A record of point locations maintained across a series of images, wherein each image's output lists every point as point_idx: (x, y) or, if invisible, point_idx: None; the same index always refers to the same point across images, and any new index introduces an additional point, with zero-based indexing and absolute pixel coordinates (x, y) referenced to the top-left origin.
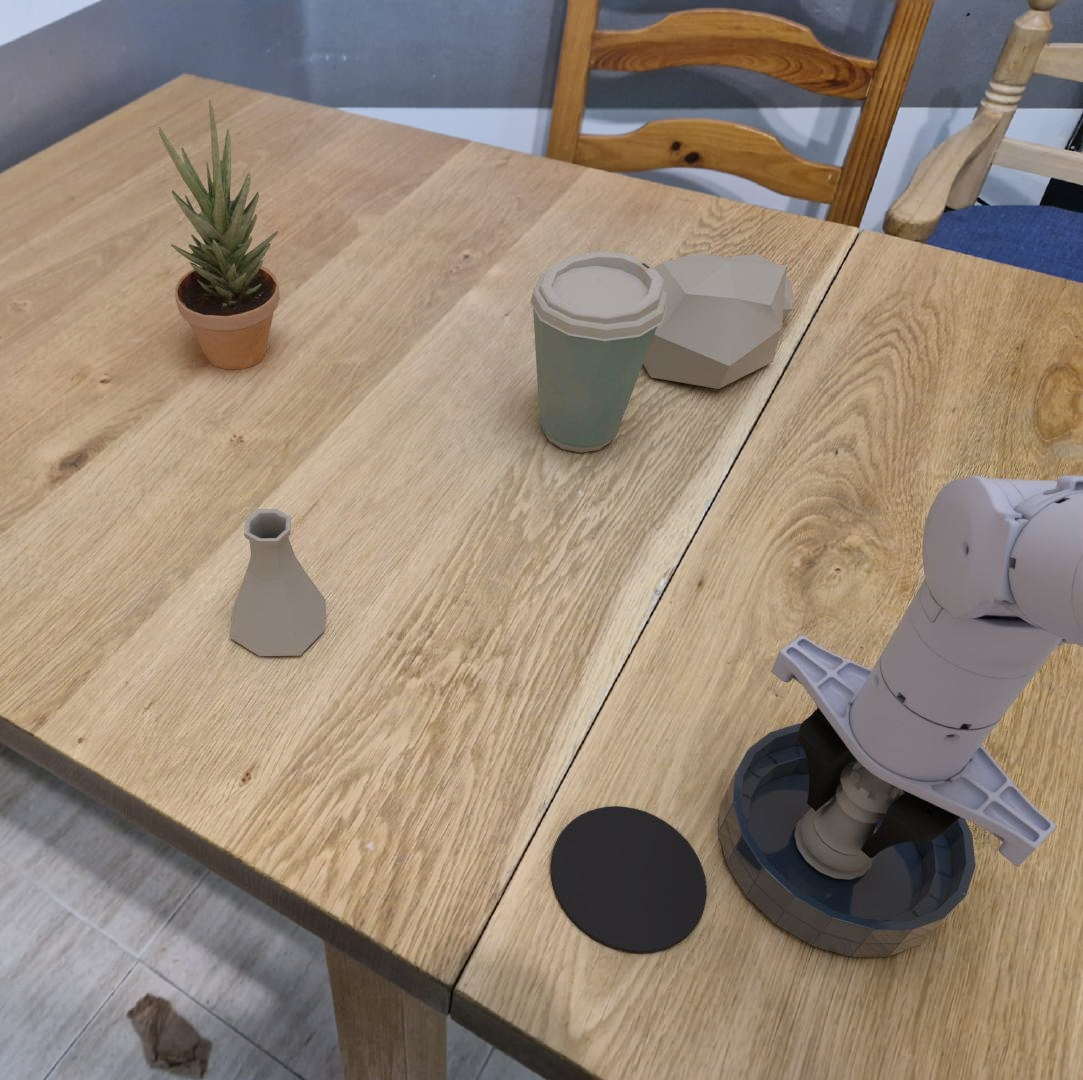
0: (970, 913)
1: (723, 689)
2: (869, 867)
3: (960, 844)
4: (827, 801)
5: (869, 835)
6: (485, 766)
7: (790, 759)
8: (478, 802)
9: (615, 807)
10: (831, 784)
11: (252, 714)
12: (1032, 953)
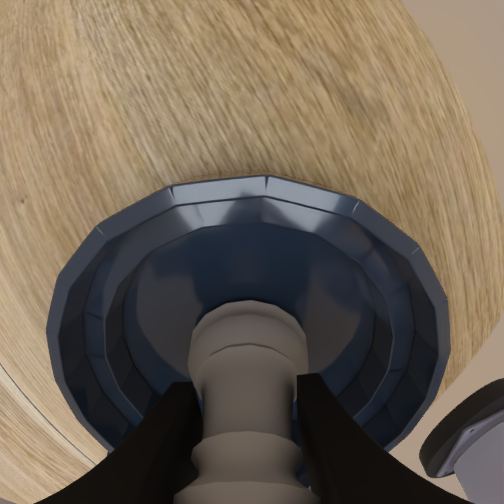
0: (419, 244)
1: (2, 260)
2: (305, 340)
3: (407, 267)
4: (198, 402)
5: (292, 415)
6: (60, 462)
7: (102, 336)
8: None
9: (109, 452)
10: (189, 478)
11: (26, 484)
12: (477, 224)
